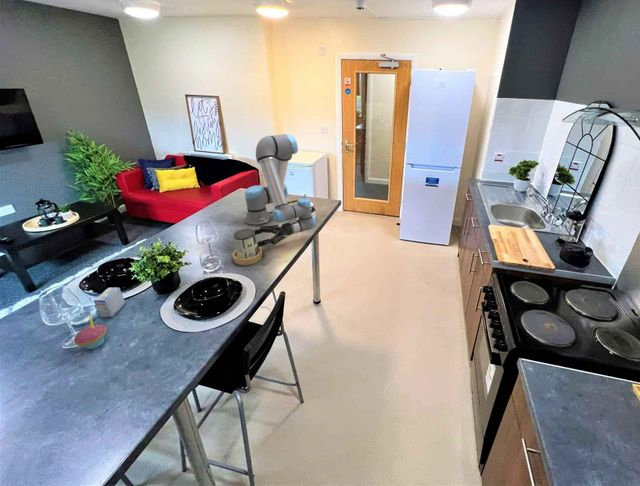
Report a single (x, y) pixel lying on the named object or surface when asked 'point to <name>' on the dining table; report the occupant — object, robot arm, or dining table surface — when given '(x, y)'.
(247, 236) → the coffee can
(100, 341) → the cupcake
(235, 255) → the round tan tray
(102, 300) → the medicine box
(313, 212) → the spread jar
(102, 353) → the dining table surface
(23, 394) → the dining table surface
